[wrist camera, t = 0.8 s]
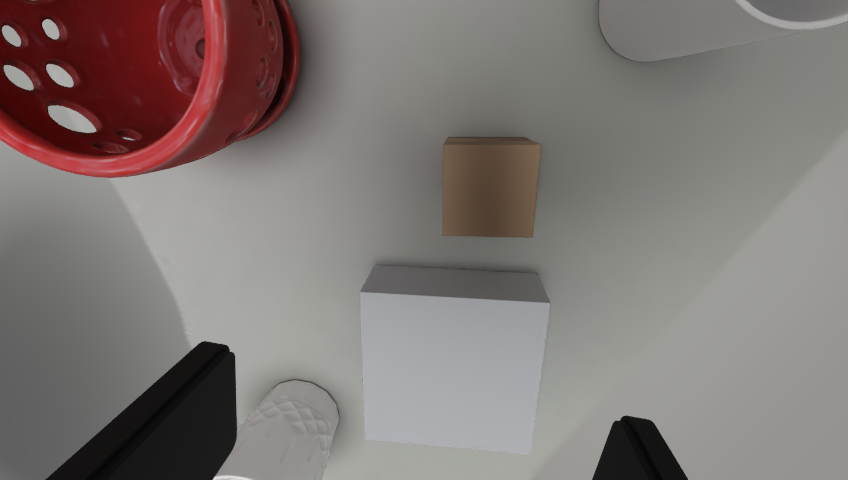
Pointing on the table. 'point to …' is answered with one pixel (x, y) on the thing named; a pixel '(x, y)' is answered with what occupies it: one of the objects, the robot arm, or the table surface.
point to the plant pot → (145, 79)
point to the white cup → (284, 436)
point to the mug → (707, 24)
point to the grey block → (452, 356)
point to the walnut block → (490, 186)
